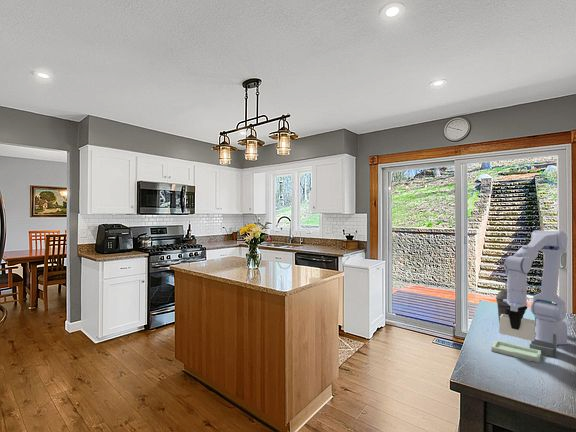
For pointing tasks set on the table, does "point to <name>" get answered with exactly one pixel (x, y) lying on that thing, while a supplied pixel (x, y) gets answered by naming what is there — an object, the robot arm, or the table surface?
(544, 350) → the bay
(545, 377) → the table surface
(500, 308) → the beverage cup
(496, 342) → the tray
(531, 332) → the box
